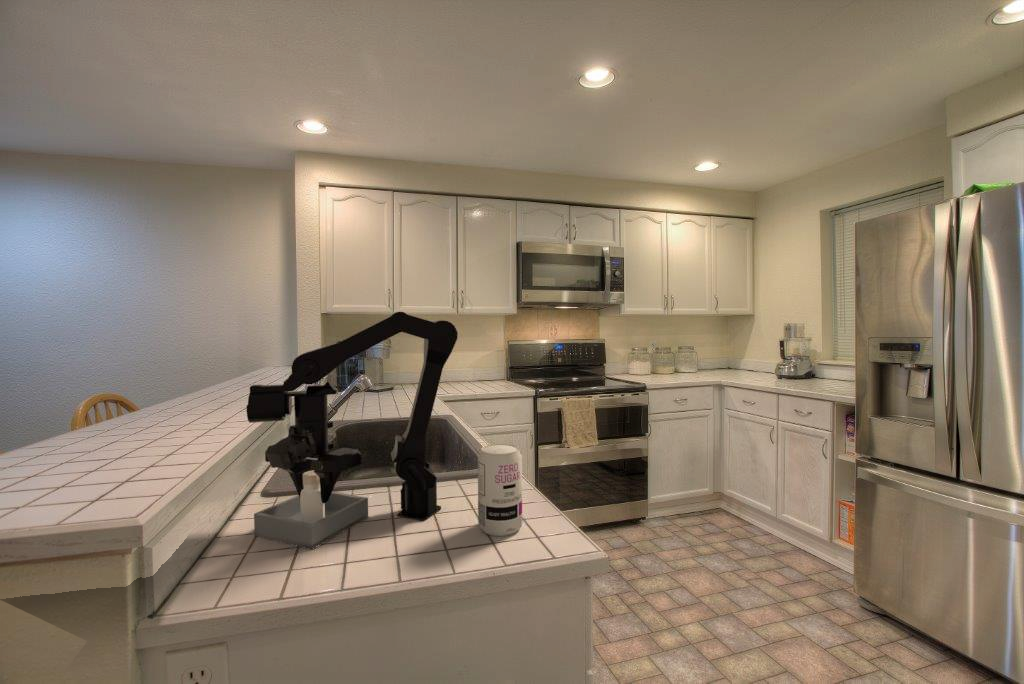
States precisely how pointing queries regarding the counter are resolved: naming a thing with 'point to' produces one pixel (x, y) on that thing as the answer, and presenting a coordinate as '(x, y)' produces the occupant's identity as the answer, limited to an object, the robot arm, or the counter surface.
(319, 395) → the robot arm
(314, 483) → the salt shaker
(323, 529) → the bin
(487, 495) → the supplement can
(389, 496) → the counter surface
